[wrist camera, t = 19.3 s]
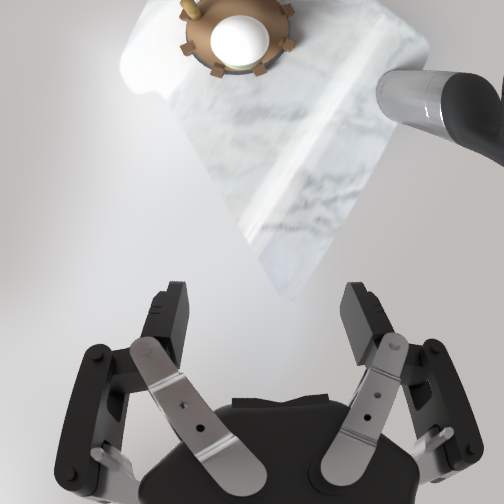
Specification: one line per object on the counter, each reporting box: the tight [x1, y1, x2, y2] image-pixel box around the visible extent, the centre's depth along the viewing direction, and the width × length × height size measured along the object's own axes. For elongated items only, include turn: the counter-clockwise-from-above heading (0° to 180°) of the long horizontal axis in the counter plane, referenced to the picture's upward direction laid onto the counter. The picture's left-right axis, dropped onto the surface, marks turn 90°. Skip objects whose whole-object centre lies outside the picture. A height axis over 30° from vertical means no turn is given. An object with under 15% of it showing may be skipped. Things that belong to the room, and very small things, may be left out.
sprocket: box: [179, 0, 296, 78], centre depth 27 cm, size 17×17×9 cm
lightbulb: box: [211, 15, 269, 66], centre depth 26 cm, size 6×6×11 cm
